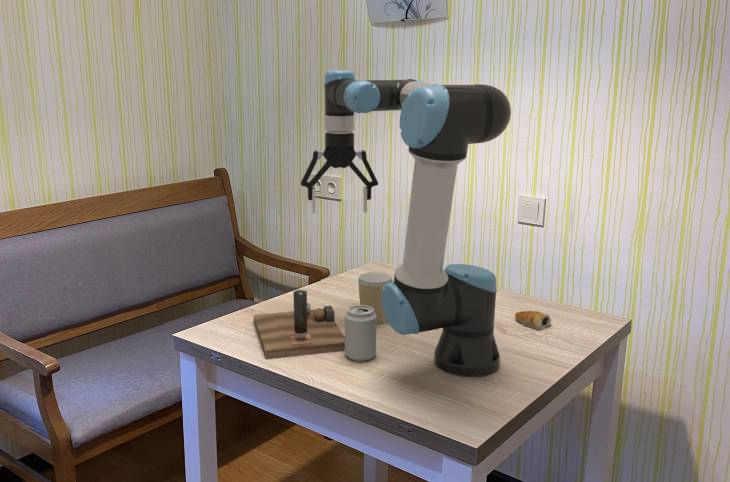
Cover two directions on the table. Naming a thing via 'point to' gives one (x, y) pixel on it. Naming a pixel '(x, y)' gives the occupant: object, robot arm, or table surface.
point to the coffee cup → (373, 292)
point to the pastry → (533, 319)
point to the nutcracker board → (282, 338)
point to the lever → (300, 313)
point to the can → (360, 333)
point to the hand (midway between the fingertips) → (339, 212)
